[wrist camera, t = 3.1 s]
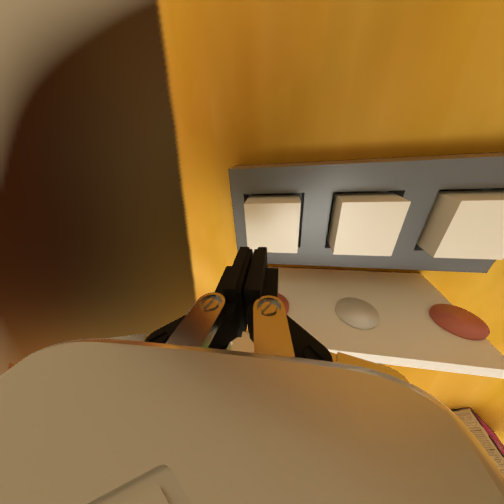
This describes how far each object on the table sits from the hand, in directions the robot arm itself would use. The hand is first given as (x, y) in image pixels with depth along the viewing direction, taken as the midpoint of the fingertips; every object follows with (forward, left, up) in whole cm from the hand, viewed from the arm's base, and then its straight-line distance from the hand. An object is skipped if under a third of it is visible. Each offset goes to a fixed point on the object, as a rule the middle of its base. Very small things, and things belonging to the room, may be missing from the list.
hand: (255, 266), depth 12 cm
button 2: (0, 0, -9) cm, 9 cm away
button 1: (-12, -12, -9) cm, 19 cm away
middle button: (-6, -6, -9) cm, 12 cm away
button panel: (-7, -5, -11) cm, 14 cm away
